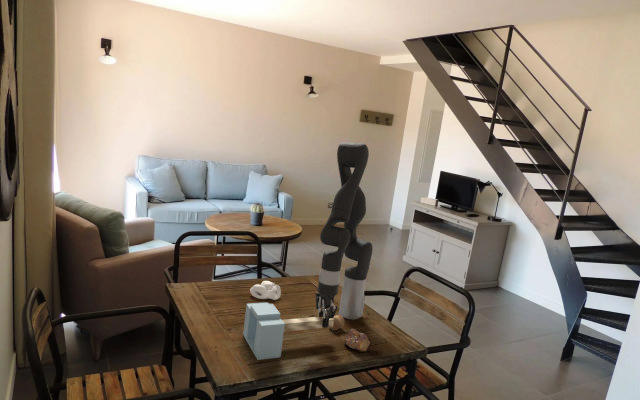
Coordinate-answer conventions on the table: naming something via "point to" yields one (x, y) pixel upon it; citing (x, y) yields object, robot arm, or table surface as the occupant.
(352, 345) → the mineral specimen
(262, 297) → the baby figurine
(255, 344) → the light blue notched block
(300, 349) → the table surface
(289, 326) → the long cream stick
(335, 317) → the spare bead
